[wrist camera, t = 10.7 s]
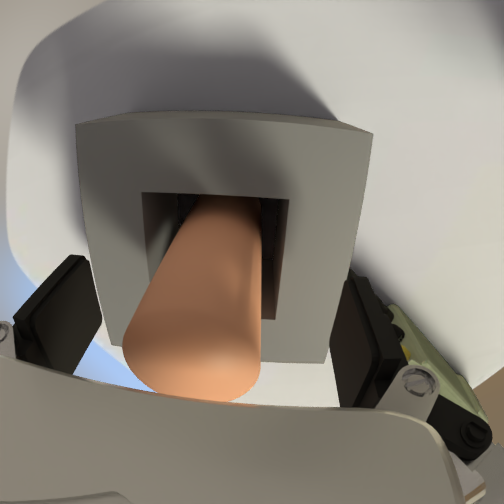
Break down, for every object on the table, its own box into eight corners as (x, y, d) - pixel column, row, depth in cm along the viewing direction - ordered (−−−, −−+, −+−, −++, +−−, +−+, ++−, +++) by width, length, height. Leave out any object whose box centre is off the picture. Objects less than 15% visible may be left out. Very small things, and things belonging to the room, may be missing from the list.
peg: (263, 181, 18) (266, 315, 8) (259, 244, 20) (255, 408, 10) (195, 178, 18) (110, 300, 8) (195, 240, 20) (136, 395, 10)
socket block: (338, 120, 16) (373, 133, 11) (311, 300, 22) (323, 363, 17) (128, 112, 16) (75, 124, 11) (141, 287, 22) (111, 344, 17)
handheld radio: (447, 401, 29) (316, 280, 22) (470, 384, 28) (353, 248, 20) (467, 445, 23) (338, 347, 16) (493, 427, 22) (389, 306, 14)
